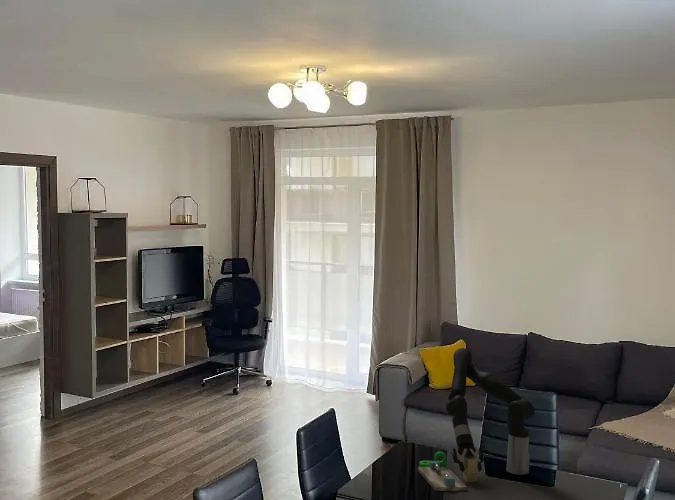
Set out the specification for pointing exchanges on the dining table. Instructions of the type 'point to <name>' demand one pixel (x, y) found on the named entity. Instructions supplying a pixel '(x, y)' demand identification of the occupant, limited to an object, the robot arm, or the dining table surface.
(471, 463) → the tan square-topped block
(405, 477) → the dining table surface
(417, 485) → the dining table surface
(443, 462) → the mechanical part
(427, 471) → the board
